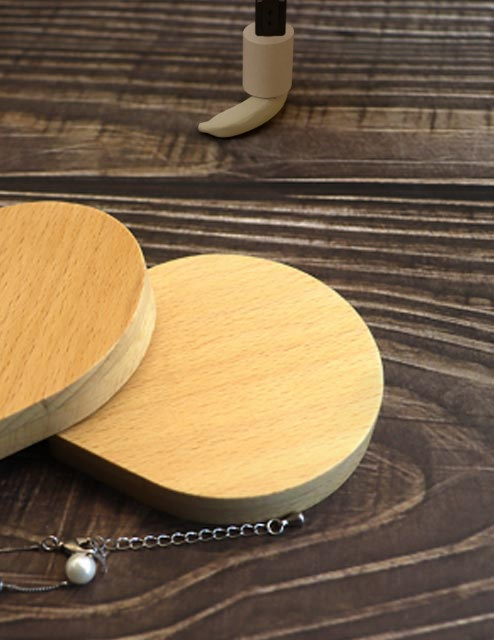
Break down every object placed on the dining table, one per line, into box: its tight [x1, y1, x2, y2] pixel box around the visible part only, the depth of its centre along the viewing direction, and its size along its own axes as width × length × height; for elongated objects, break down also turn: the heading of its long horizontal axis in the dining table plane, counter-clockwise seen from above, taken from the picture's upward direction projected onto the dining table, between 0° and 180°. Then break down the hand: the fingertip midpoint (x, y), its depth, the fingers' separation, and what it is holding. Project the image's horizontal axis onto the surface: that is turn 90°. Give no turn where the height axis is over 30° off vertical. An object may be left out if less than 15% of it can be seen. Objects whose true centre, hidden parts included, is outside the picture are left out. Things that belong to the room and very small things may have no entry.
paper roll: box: [242, 21, 295, 98], centre depth 115 cm, size 6×6×7 cm
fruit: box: [198, 91, 289, 138], centre depth 119 cm, size 7×15×3 cm, turn 147°
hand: (272, 13), depth 111 cm, fingers open, 9 cm apart
